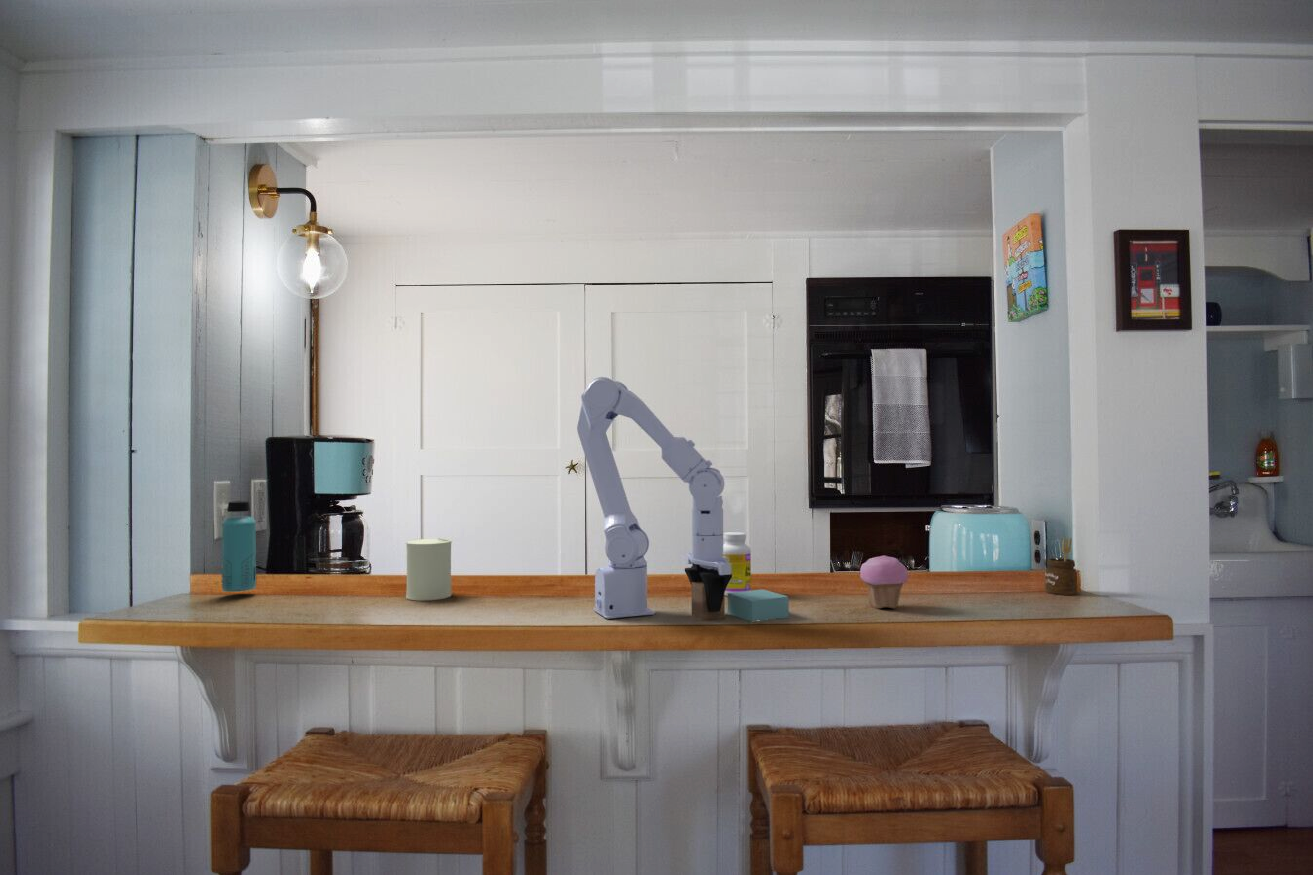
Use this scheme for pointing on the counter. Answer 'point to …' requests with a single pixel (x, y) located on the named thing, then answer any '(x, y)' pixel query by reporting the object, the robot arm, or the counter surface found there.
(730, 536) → the supplement bottle
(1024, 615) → the counter surface
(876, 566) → the cupcake
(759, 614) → the teal base box
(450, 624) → the counter surface
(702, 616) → the walnut block
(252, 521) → the beverage bottle
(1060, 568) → the utensil holder
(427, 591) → the can
